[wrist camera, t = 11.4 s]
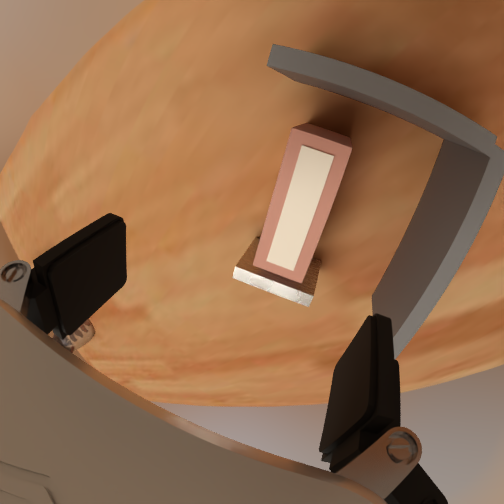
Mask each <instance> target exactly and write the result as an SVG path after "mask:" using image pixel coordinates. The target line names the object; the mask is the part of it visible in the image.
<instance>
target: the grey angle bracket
mask: <svg viewBox="0 0 504 504" xmlns="http://www.w3.org/2000/svg"><path fill="white" fill-rule="evenodd" d="M267 66H268V67H270V68H272V69H274V70H276V71H278V72H280V73H282V74H283V75H285V76H287V77H289V78H291V79H292V80H294V81H297V82H301V83H304V84H308V85H311V86H315V87H318V88H321V89H324V90H328V91H331V92H334V93H337V94H340V95H343V96H346V97H349V98H351V99H354V100H357V101H360V102H362V103H365V104H368V105H370V106H373V107H375V108H378V109H380V110H383V111H385V112H388V113H390V114H392V115H395V116H397V117H399V118H402V119H404V120H406V121H408V122H410V123H413V124H415V125H417V126H419V127H421V128H423V129H425V130H427V131H429V132H431V133H433V134H435V135H437V136H439V137H441V138H443V139H444V141H443V144H442V146H441V149H440V152H439V155H438V157H437V160H436V163H435V165H434V168H433V170H432V173H431V176H430V178H429V181H428V183H427V185H426V188H425V190H424V193H423V195H422V197H421V200H420V202H419V204H418V206H417V209H416V211H415V213H414V215H413V218H412V220H411V222H410V224H409V226H408V228H407V230H406V232H405V235H404V237H403V239H402V241H401V243H400V245H399V247H398V249H397V251H396V253H395V255H394V257H393V258H392V260H391V262H390V264H389V266H388V268H387V270H386V272H385V274H384V275H383V277H382V279H381V281H380V283H379V285H378V286H377V288H376V290H375V292H374V293H373V295H372V310H373V315H374V314H375V313H378V314H380V315H383V316H386V317H389V318H391V321H392V331H393V344H394V359H396V358H397V356H398V355H399V354H400V353H401V351H402V350H403V349H404V348H405V346H406V345H407V344H408V343H409V341H410V340H411V339H412V337H413V336H414V335H415V333H416V332H417V331H418V329H419V328H420V326H421V325H422V324H423V322H424V321H425V320H426V318H427V317H428V315H429V314H430V312H431V311H432V309H433V308H434V307H435V305H436V304H437V302H438V301H439V299H440V297H441V296H442V294H443V293H444V291H445V290H446V288H447V287H448V285H449V283H450V282H451V280H452V278H453V277H454V275H455V273H456V272H457V270H458V268H459V267H460V265H461V263H462V261H463V260H464V258H465V256H466V254H467V253H468V251H469V249H470V247H471V245H472V243H473V241H474V239H475V237H476V236H477V234H478V232H479V230H480V228H481V226H482V223H483V221H484V219H485V217H486V215H487V213H488V211H489V209H490V206H491V204H492V202H493V199H494V197H495V195H496V192H497V190H498V188H499V185H500V183H501V180H502V177H503V175H504V150H502V149H501V148H500V147H498V146H497V145H495V142H496V139H497V136H496V135H494V134H493V133H491V132H490V131H488V130H487V129H485V128H484V127H482V126H480V125H479V124H477V123H476V122H474V121H472V120H471V119H469V118H467V117H466V116H464V115H462V114H460V113H459V112H457V111H455V110H453V109H452V108H450V107H448V106H446V105H444V104H442V103H440V102H438V101H436V100H435V99H433V98H431V97H429V96H427V95H424V94H422V93H420V92H418V91H416V90H414V89H412V88H409V87H407V86H405V85H403V84H400V83H398V82H396V81H393V80H391V79H388V78H386V77H384V76H381V75H378V74H376V73H373V72H370V71H368V70H365V69H362V68H359V67H356V66H354V65H351V64H348V63H344V62H341V61H338V60H335V59H331V58H328V57H325V56H321V55H317V54H314V53H310V52H306V51H302V50H298V49H294V48H289V47H285V46H280V45H275V44H273V45H272V48H271V52H270V56H269V59H268V63H267Z"/></svg>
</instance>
